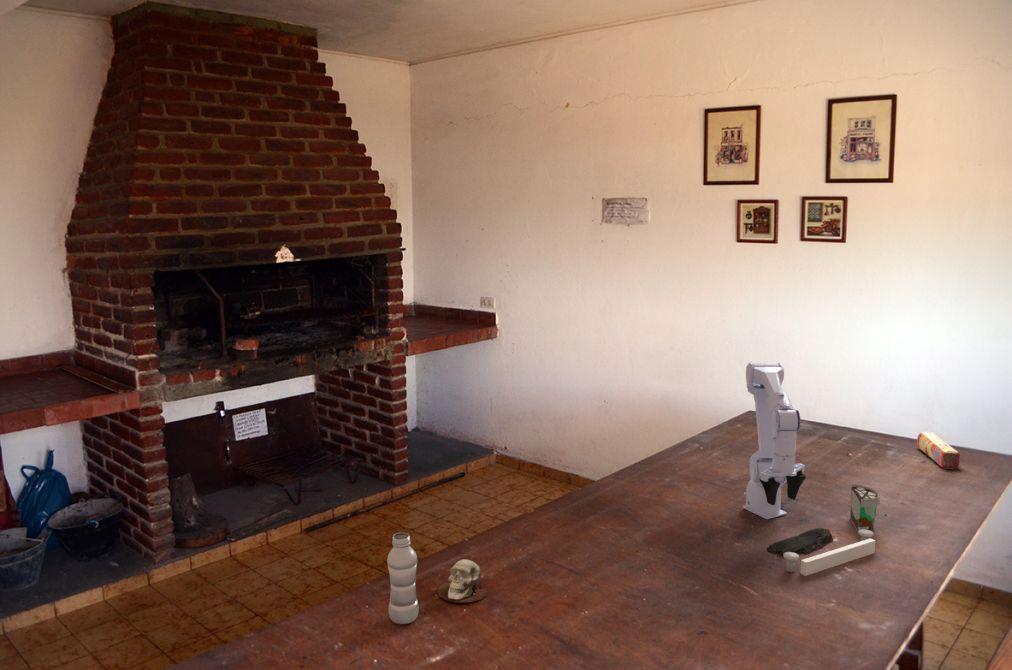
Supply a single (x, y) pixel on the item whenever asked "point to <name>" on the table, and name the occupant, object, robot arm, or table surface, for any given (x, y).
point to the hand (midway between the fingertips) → (781, 501)
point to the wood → (802, 542)
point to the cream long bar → (833, 555)
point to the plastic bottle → (402, 580)
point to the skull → (462, 583)
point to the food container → (863, 506)
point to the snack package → (938, 450)
